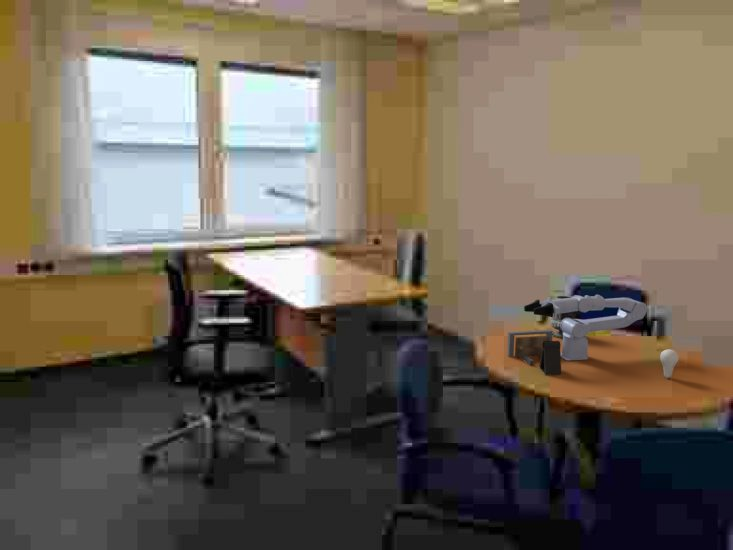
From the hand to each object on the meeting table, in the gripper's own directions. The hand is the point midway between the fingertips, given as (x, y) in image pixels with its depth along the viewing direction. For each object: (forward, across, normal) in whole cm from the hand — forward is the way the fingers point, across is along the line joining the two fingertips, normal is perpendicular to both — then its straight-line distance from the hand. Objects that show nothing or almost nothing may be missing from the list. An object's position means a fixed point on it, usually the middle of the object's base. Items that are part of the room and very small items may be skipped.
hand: (529, 310), depth 247 cm
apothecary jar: (-32, -30, +21) cm, 49 cm away
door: (-4, -6, +21) cm, 22 cm away
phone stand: (-2, +10, +23) cm, 25 cm away
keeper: (-3, -1, +22) cm, 22 cm away
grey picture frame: (-4, -9, +21) cm, 23 cm away
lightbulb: (-40, +28, +26) cm, 56 cm away
